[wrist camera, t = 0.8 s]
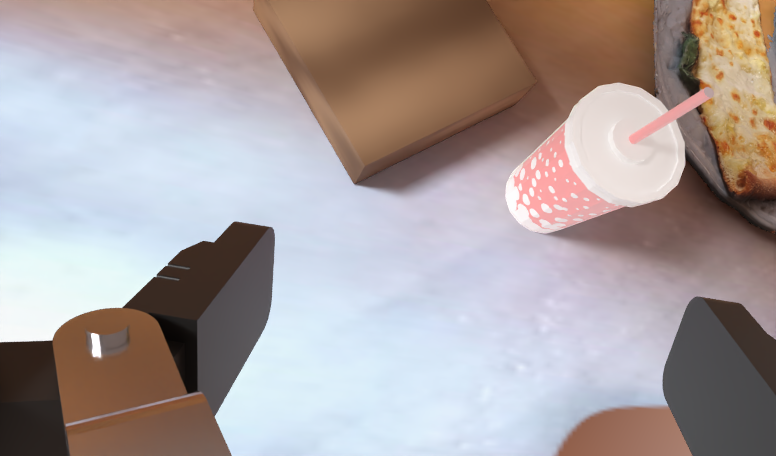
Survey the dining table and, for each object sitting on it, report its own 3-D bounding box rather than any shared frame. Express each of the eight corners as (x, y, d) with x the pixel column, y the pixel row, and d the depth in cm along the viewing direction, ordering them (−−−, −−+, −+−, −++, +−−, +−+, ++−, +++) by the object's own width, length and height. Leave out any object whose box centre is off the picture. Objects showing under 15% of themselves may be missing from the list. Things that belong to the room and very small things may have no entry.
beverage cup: (550, 266, 36) (732, 197, 23) (474, 197, 36) (613, 88, 23) (601, 196, 38) (796, 96, 25) (530, 131, 38) (687, -4, 25)
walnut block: (253, 10, 35) (255, -23, 33) (419, -50, 39) (433, -83, 36) (354, 184, 34) (364, 166, 31) (514, 104, 38) (537, 82, 35)
